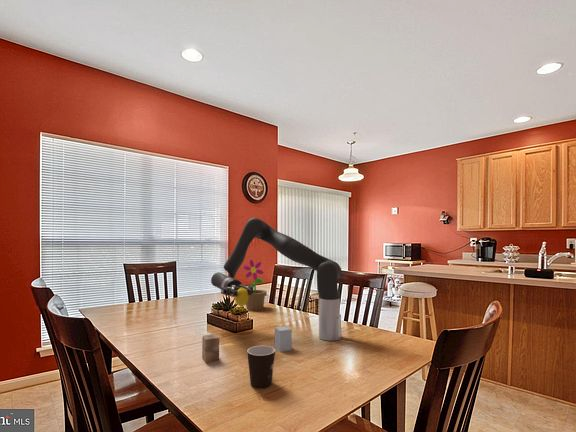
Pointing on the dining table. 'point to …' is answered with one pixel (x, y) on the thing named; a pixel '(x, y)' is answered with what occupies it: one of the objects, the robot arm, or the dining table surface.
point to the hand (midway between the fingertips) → (243, 293)
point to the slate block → (283, 338)
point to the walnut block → (210, 348)
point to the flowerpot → (257, 296)
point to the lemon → (242, 297)
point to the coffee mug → (261, 365)
